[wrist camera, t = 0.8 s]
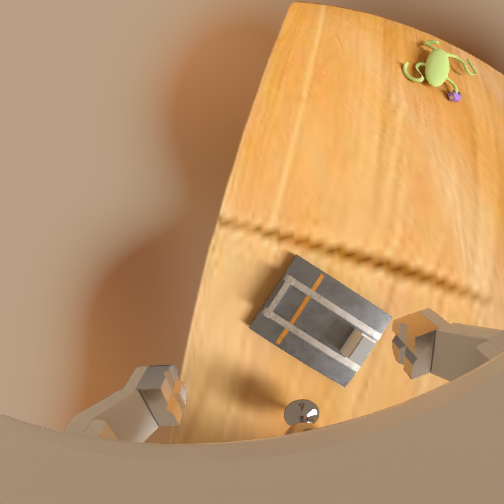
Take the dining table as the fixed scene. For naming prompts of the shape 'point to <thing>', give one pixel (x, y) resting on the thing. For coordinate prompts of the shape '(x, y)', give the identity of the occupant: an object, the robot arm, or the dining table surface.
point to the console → (317, 319)
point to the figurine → (438, 69)
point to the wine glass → (301, 416)
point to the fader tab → (357, 347)
